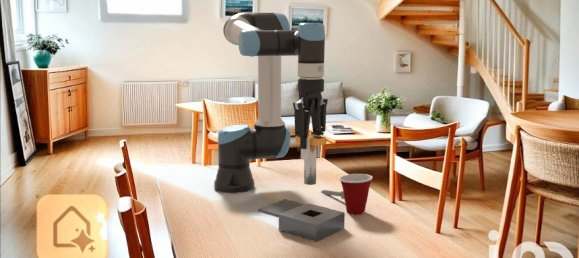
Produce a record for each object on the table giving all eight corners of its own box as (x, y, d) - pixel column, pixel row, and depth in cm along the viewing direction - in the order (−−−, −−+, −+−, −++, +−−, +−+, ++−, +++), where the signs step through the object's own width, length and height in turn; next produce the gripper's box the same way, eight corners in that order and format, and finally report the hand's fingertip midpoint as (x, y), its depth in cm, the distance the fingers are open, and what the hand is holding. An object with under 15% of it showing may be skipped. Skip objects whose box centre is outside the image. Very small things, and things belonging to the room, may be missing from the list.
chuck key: (295, 182, 163) (295, 135, 161) (303, 179, 166) (304, 133, 164) (316, 187, 158) (317, 139, 156) (325, 184, 161) (325, 137, 159)
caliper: (355, 208, 185) (355, 190, 184) (352, 208, 185) (352, 190, 184) (323, 192, 203) (323, 175, 202) (320, 192, 202) (320, 176, 201)
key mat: (257, 210, 181) (257, 208, 181) (285, 200, 192) (285, 199, 192) (295, 221, 171) (295, 219, 171) (321, 210, 182) (321, 208, 182)
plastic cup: (345, 204, 188) (346, 170, 186) (376, 209, 183) (377, 174, 181) (333, 214, 178) (333, 178, 176) (364, 219, 174) (365, 182, 171)
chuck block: (278, 230, 164) (278, 214, 163) (307, 218, 174) (307, 203, 174) (316, 241, 155) (316, 225, 154) (344, 228, 166) (344, 212, 165)
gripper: (302, 80, 148) (301, 165, 152) (339, 76, 161) (337, 155, 165) (281, 79, 153) (281, 161, 157) (318, 75, 165) (317, 151, 169)
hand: (310, 157), depth 161 cm, fingers closed on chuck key, 4 cm apart
